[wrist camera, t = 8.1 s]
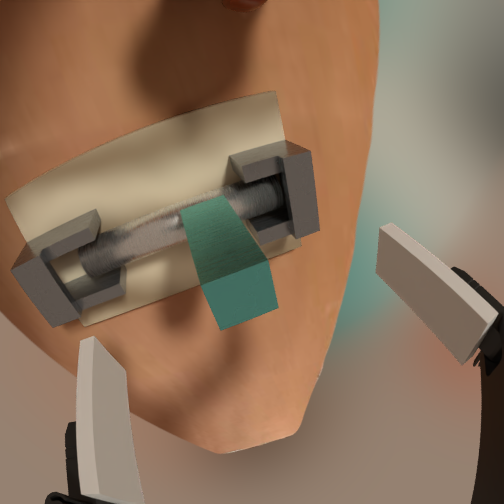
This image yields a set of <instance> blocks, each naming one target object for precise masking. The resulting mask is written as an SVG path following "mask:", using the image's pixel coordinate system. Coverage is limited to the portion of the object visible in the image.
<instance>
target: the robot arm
mask: <svg viewBox="0 0 504 504" xmlns="http://www.w3.org/2000/svg"><path fill="white" fill-rule="evenodd" d="M376 273H377V275H379V277H380V278H381V279H383V281H385V282H386V284H388V286H389V287H390V288H391V289H392V290H393V291H394V292H395V293H396V294H397V295H398V296H399V297H400V298H401V299H402V300H403V301H404V302H405V303H406V304H407V305H408V306H409V307H410V308H411V309H412V310H413V311H414V312H415V313H416V315H417V316H418V317H419V318H420V319H421V320H422V321H423V322H424V323H425V324H426V325H427V326H428V328H429V329H430V330H432V332H433V333H434V334H435V335H436V336H437V337H438V339H439V340H440V341H441V342H442V343H443V344H444V345H445V346H446V348H447V349H448V350H449V351H450V352H451V353H452V355H453V356H454V357H455V358H456V359H457V360H458V362H459V363H460V364H461V365H463V364H464V363H465V362H466V361H468V360H469V359H470V358H471V357H472V356H473V355H474V353H475V352H476V350H477V349H478V347H479V348H480V350H481V351H480V353H479V354H478V356H477V357H476V359H475V360H474V363H473V366H476V364H477V363H478V361H479V360H480V362H479V365H478V366H480V369H481V391H482V392H481V393H482V410H481V435H480V448H479V458H478V465H477V473H476V479H475V485H474V491H473V495H472V501H471V504H504V306H502V305H501V304H500V303H499V302H498V301H497V300H496V299H495V298H494V297H493V296H492V295H491V294H489V293H488V292H487V291H486V290H485V289H484V288H483V287H482V286H480V285H479V283H477V282H476V281H475V280H473V278H472V277H470V276H469V275H468V274H467V273H466V272H465V271H463V270H461V269H458V268H456V267H452V268H451V269H450V268H449V267H448V266H446V265H445V264H444V263H443V262H442V261H440V260H439V259H438V258H437V257H436V256H434V255H433V254H432V253H430V252H429V251H428V250H427V249H425V248H424V247H423V246H422V245H420V244H419V243H418V242H417V241H415V240H414V239H413V238H411V237H410V236H409V235H408V234H406V233H405V232H403V231H402V230H401V229H400V228H398V227H397V226H395V225H394V224H393V223H389V224H387V225H384V226H382V227H380V228H379V242H378V254H377V265H376ZM65 447H66V450H65V451H66V458H67V459H66V470H67V481H68V492H69V496H67V495H64V494H61V493H58V492H52V493H50V494H49V495H48V496H47V498H46V500H45V504H145V501H144V497H143V492H142V488H141V483H140V478H139V473H138V467H137V462H136V456H135V450H134V444H133V437H132V429H131V422H130V412H129V403H128V391H127V378H126V370H125V369H124V368H123V367H122V366H121V365H120V364H119V363H118V362H117V361H116V360H115V359H114V358H113V356H112V355H111V354H110V353H109V352H108V351H107V350H106V349H105V348H104V346H103V345H102V344H101V343H100V342H99V341H98V340H97V338H96V337H95V336H92V337H89V338H86V339H83V340H80V348H79V359H78V373H77V393H76V421H75V422H70V423H68V427H67V430H66V433H65Z"/></svg>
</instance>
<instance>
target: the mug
mask: <svg viewBox="0 0 504 504" xmlns="http://www.w3.org/2000/svg"><path fill="white" fill-rule="evenodd" d="M266 1H267V0H222V4H223V6H224V7H225V8H226V9H228V10H232V11H237V12H250V11H254V10H256V9H258V8H259V7H261V6H262V5H263V4H264V3H265V2H266Z"/></svg>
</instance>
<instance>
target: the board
mask: <svg viewBox="0 0 504 504" xmlns="http://www.w3.org/2000/svg"><path fill="white" fill-rule="evenodd" d="M282 140H285V137H284V131H283V126H282V121H281V115H280V110H279V105H278V100H277V95H276V91H268V92H263V93H258V94H254V95H249V96H245V97H241V98H236V99H232V100H228V101H225V102H221V103H217V104H213V105H210V106H206V107H203V108H199V109H196V110H193V111H189V112H186V113H183V114H180V115H177V116H174V117H171V118H168V119H165V120H162V121H159V122H156V123H154V124H151V125H148V126H146V127H143V128H140V129H138V130H135V131H133V132H130V133H128V134H125V135H123V136H120V137H118V138H116V139H113V140H111V141H109V142H106V143H104V144H102V145H100V146H97V147H95V148H93V149H91V150H89V151H87V152H85V153H82V154H80V155H78V156H76V157H74V158H72V159H70V160H68V161H66V162H64V163H63V164H61V165H59V166H57V167H55V168H53V169H51V170H50V171H48V172H46V173H44V174H42V175H41V176H39V177H37V178H35V179H34V180H32V181H30V182H29V183H27V184H25V185H24V186H22V187H20V188H19V189H17V190H16V191H14V192H12V193H11V194H9V195H8V196H7V197H6V198H5V201H6V203H7V206H8V208H9V210H10V212H11V214H12V216H13V218H14V220H15V221H16V223H17V225H18V227H19V229H20V231H21V233H22V234H23V236H24V238H25V240H26V242H29V241H31V240H33V239H34V238H36V237H38V236H40V235H42V234H44V233H46V232H48V231H50V230H52V229H54V228H56V227H58V226H60V225H62V224H64V223H66V222H68V221H70V220H72V219H74V218H76V217H78V216H81V215H83V214H85V213H87V212H89V211H91V210H94V209H97V212H98V214H99V216H100V218H101V223H100V226H99V229H98V232H97V235H98V234H100V233H103V232H105V231H107V230H110V229H112V228H114V227H117V226H119V225H122V224H124V223H126V222H129V221H131V220H134V219H136V218H139V217H141V216H144V215H146V214H149V213H151V212H154V211H157V210H159V209H162V208H164V207H167V206H170V205H172V204H175V203H178V202H180V201H183V200H186V199H189V198H191V197H194V196H197V195H200V194H203V193H206V192H208V191H211V190H214V189H217V188H220V187H223V186H226V185H229V184H232V183H235V182H238V181H241V180H242V179H241V178H240V177H239V176H238V175H237V174H236V173H235V172H234V171H233V169H232V165H231V162H230V158H229V155H232V154H236V153H239V152H242V151H246V150H249V149H253V148H256V147H260V146H263V145H267V144H271V143H274V142H278V141H282ZM274 175H275V176H276V178H277V180H278V182H279V184H280V186H281V182H280V177H279V173H277V174H274ZM281 190H282V188H281ZM242 222H243V224H244V225H245V227H246V228H247V230H248V231H249V233H250V234H251V236H252V237H253V239H254V240H255V242H256V243H257V244H258V246H259V247H260V249H261V250H262V252H263V253H264V255H265V256H266V258H267V259H269V258H272V257H275V256H277V255H280V254H283V253H285V252H288V251H290V250H293V249H296V248H298V247H301V246H302V245H301V238H299V239H295V238H294V237H293V236H292V234H291V235H288V236H286V237H283V238H280V239H278V240H275V241H272V242H269V243H267V244H264V245H261V246H260V245H259V243H258V242H257V240H256V239H255V237H254V236H253V234H252V233H251V232H250V230H249V229H248V227H247V224H246V220H244V221H242ZM50 263H51V265H52V266H53V268H54V269H55V271H56V273H57V274H58V276H59V277H60V279H61V280H62V282H63V283H64V284H65V283H67V282H69V281H72V280H74V279H76V278H79V277H81V276H83V275H86V272H85V271H84V269H83V267H82V265H81V263H80V260H79V256H78V248H76V249H74V250H72V251H70V252H68V253H65V254H63V255H61V256H59V257H57V258H55V259H53V260H50ZM125 267H126V269H127V277H126V294H124V295H121V296H118V297H116V298H113V299H110V300H108V301H105V302H103V303H100V304H97V305H95V306H92V307H89V308H87V309H84V310H82V315H81V317H80V318H78V319H79V321H80V322H81V323H82V324H83V326H84V327H86V326H88V325H91V324H94V323H97V322H100V321H102V320H105V319H108V318H111V317H113V316H116V315H119V314H122V313H125V312H127V311H130V310H133V309H136V308H138V307H141V306H144V305H147V304H149V303H152V302H155V301H157V300H160V299H163V298H166V297H168V296H171V295H174V294H176V293H179V292H182V291H185V290H187V289H190V288H193V287H195V286H198V285H200V282H199V278H198V275H197V271H196V268H195V264H194V261H193V257H192V254H191V250H190V247H189V243H188V241H186V242H183V243H181V244H178V245H175V246H173V247H170V248H167V249H165V250H162V251H160V252H157V253H154V254H152V255H149V256H147V257H144V258H141V259H139V260H136V261H134V262H131V263H129V264H126V265H125Z"/></svg>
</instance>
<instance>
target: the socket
mask: <svg viewBox="0 0 504 504" xmlns="http://www.w3.org/2000/svg"><path fill="white" fill-rule="evenodd" d="M229 158H230V162H231V165H232V169H233V171H234V172H235V173H236V174H237V175H238V176H239V177H240V178H241V179H242V180H243V181H244V182H245V183H248V182H251V181H254V180H258V179H261V178H264V177H267V176H270V175H274V174H277V173H279V177H280V182H281V188H282V193H283V199H284V204H283V207H281V208H278V209H275V210H272V211H269V212H267V213H264V214H261V215H258V216H255V217H252V218H249V219H247V220H246V224H247V227H248V229H249V230H250V232H251V233H252V234H253V236H254V237H255V239H256V240H257V242H258V243H259V245H260V246H261V245H264V244H267V243H269V242H272V241H275V240H278V239H280V238H283V237H286V236H288V235H291V234H292V236H293V237H294V238H295V239H299V238H301V237H304V236H306V235H309V234H312V233H314V232H317V231H320V227H319V217H318V207H317V198H316V189H315V181H314V172H313V165H312V157H311V151H310V150H308V149H305V148H303V147H301V146H299V145H296V144H294V143H292V142H289V141H287V140H282V141H278V142H274V143H271V144H267V145H263V146H260V147H256V148H253V149H249V150H246V151H242V152H239V153H236V154H232V155H229Z"/></svg>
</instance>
